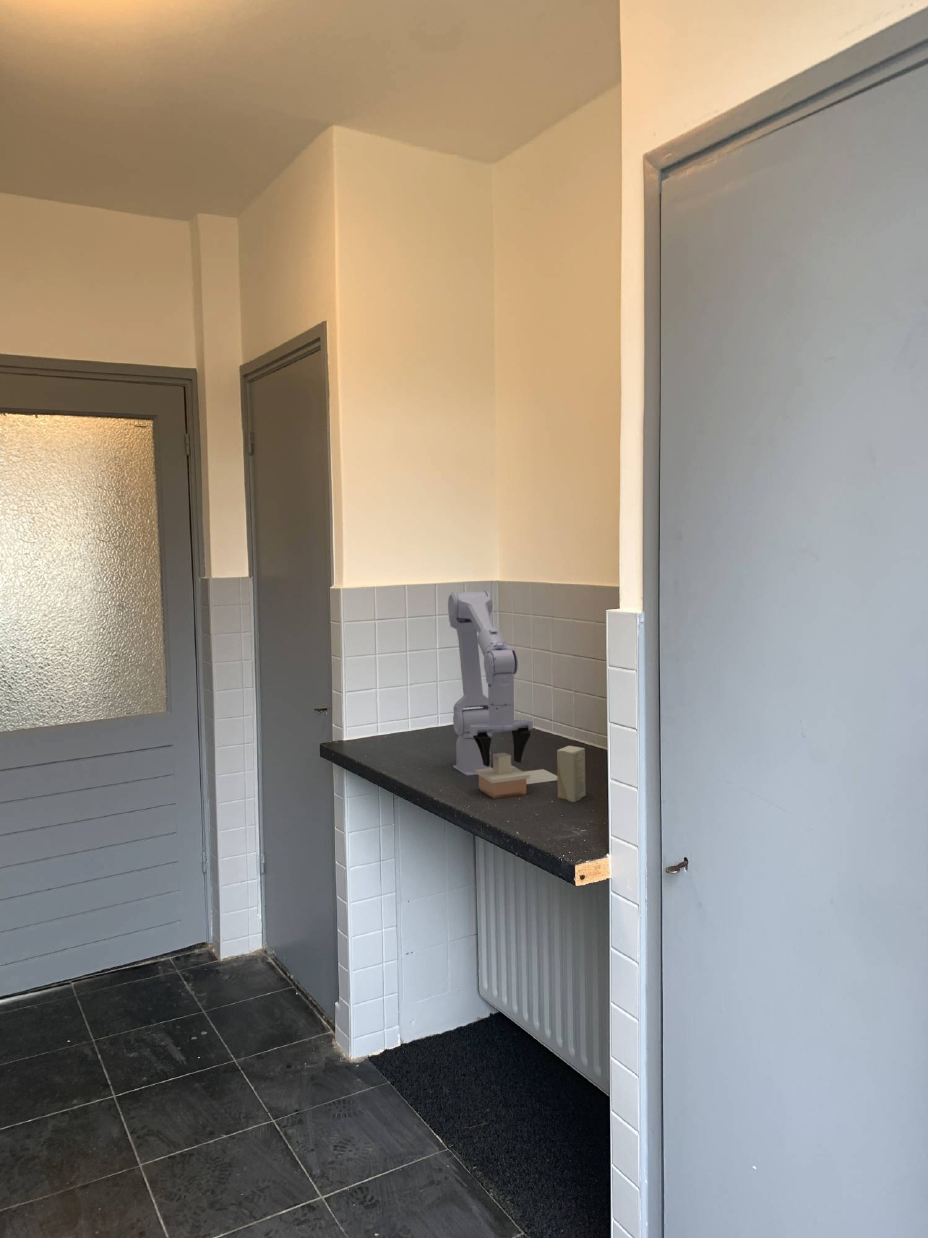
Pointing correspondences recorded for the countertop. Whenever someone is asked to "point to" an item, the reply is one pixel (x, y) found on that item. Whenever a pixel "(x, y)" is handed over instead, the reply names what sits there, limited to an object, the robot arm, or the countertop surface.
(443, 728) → the countertop surface
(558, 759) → the box
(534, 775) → the mat
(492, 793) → the dish
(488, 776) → the lid
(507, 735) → the countertop surface
